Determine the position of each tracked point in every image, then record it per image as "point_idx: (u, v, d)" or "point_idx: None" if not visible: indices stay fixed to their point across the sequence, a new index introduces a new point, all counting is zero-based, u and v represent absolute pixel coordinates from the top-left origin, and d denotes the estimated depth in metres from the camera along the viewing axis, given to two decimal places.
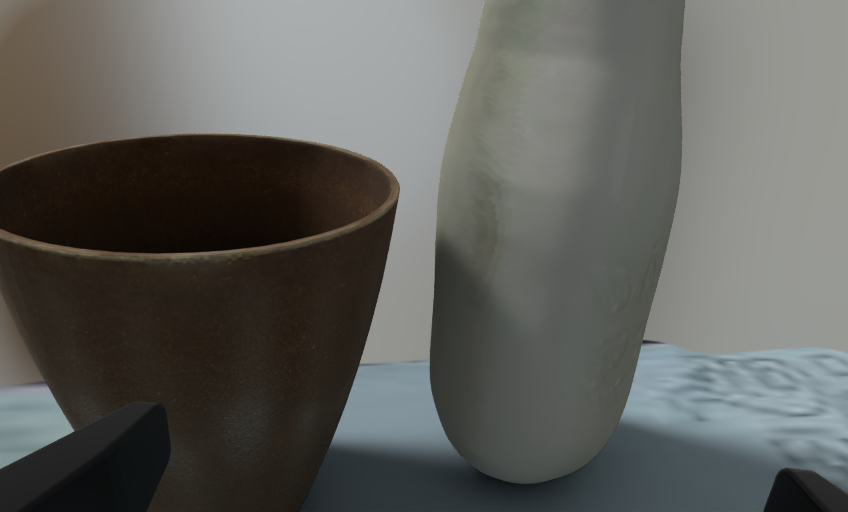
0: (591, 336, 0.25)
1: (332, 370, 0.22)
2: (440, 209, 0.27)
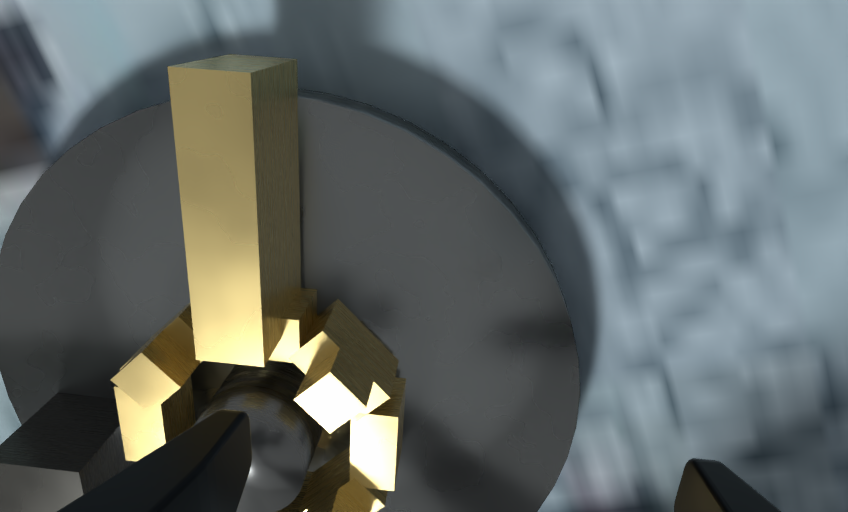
0: None
1: None
2: None
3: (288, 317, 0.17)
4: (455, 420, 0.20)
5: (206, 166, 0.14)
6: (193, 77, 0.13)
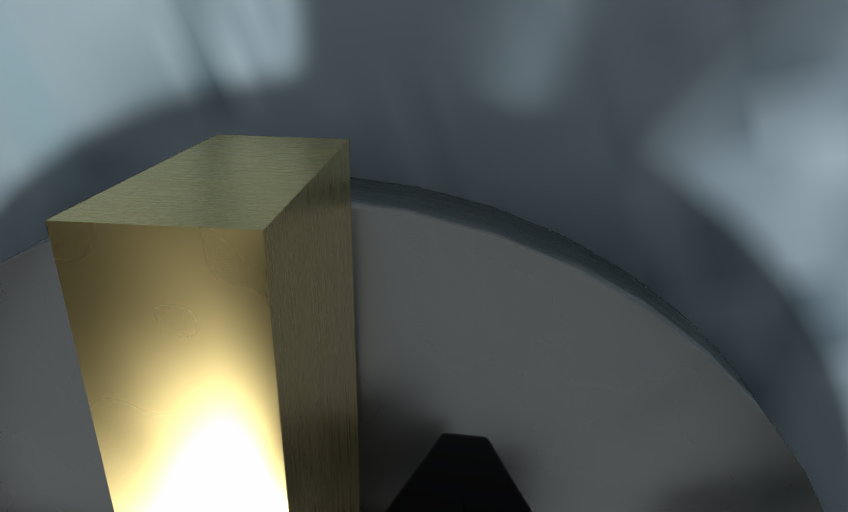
0: None
1: None
2: None
3: None
4: None
5: (165, 436, 0.06)
6: (114, 244, 0.05)
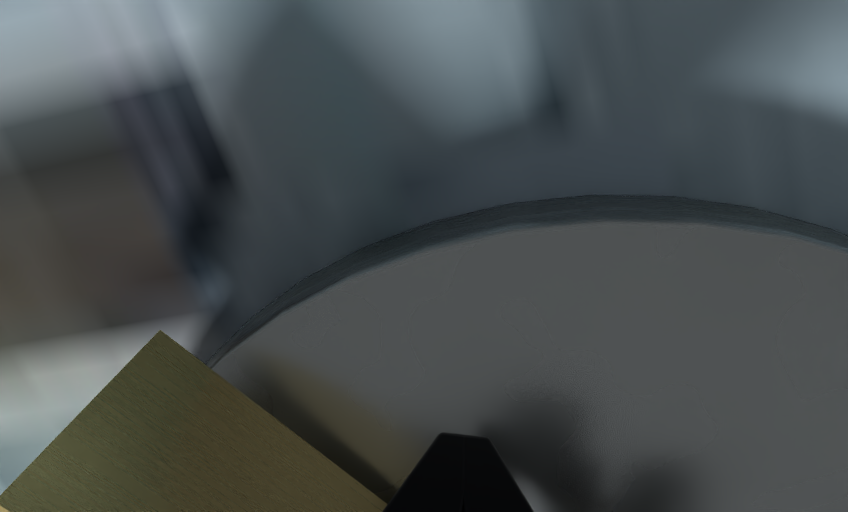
0: None
1: None
2: None
3: None
4: None
5: None
6: None
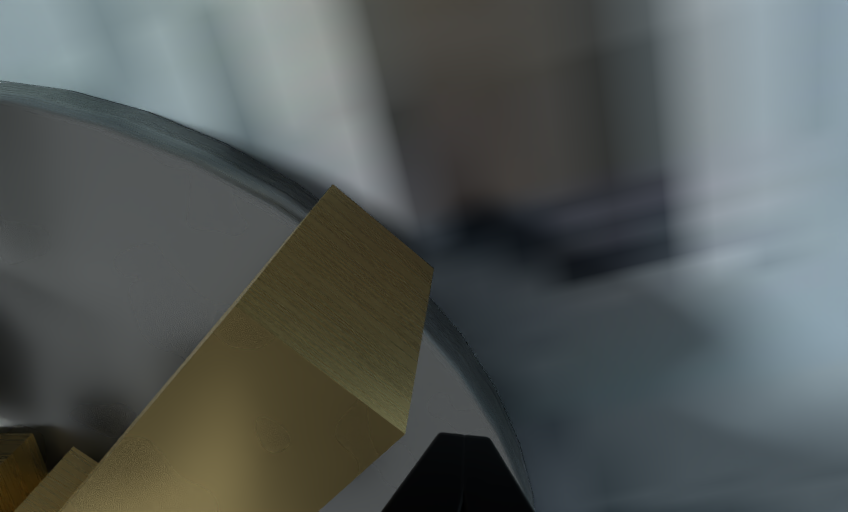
0: None
1: None
2: None
3: None
4: None
5: (172, 494, 0.06)
6: (276, 360, 0.05)
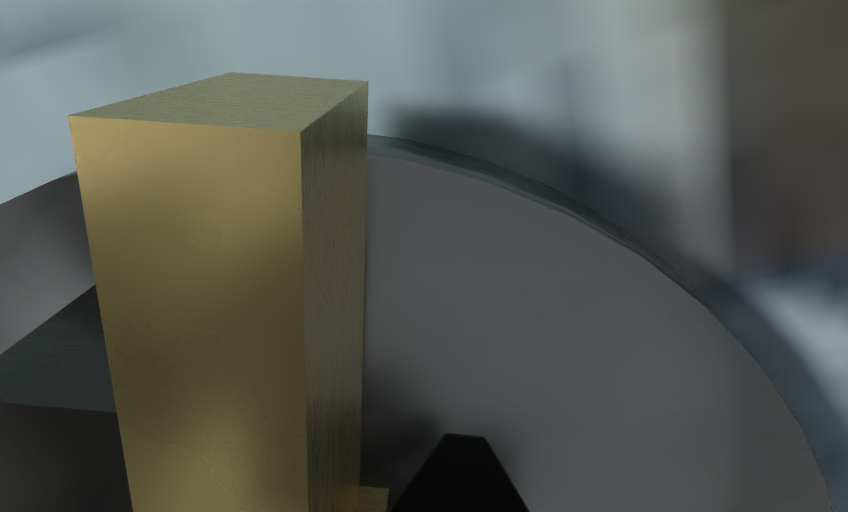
0: None
1: None
2: None
3: None
4: None
5: (181, 359, 0.05)
6: (141, 144, 0.05)
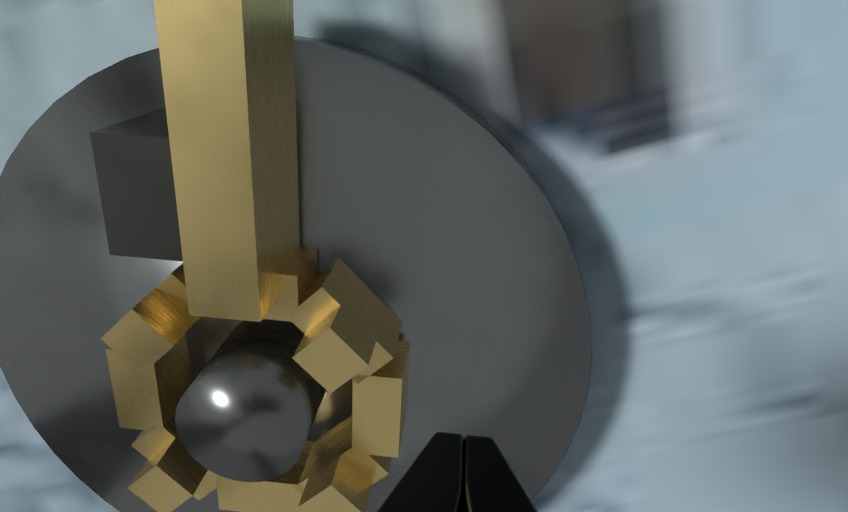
0: None
1: None
2: None
3: (286, 273, 0.16)
4: None
5: (196, 103, 0.13)
6: (180, 4, 0.12)
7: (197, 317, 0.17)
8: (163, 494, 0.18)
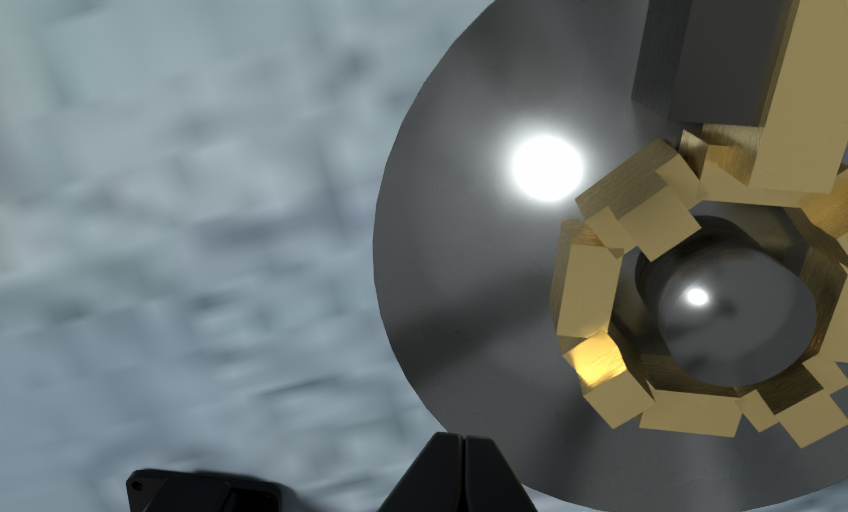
0: None
1: None
2: None
3: None
4: (646, 428, 0.21)
5: None
6: None
7: (691, 205, 0.15)
8: (622, 403, 0.17)
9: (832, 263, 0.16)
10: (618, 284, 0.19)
